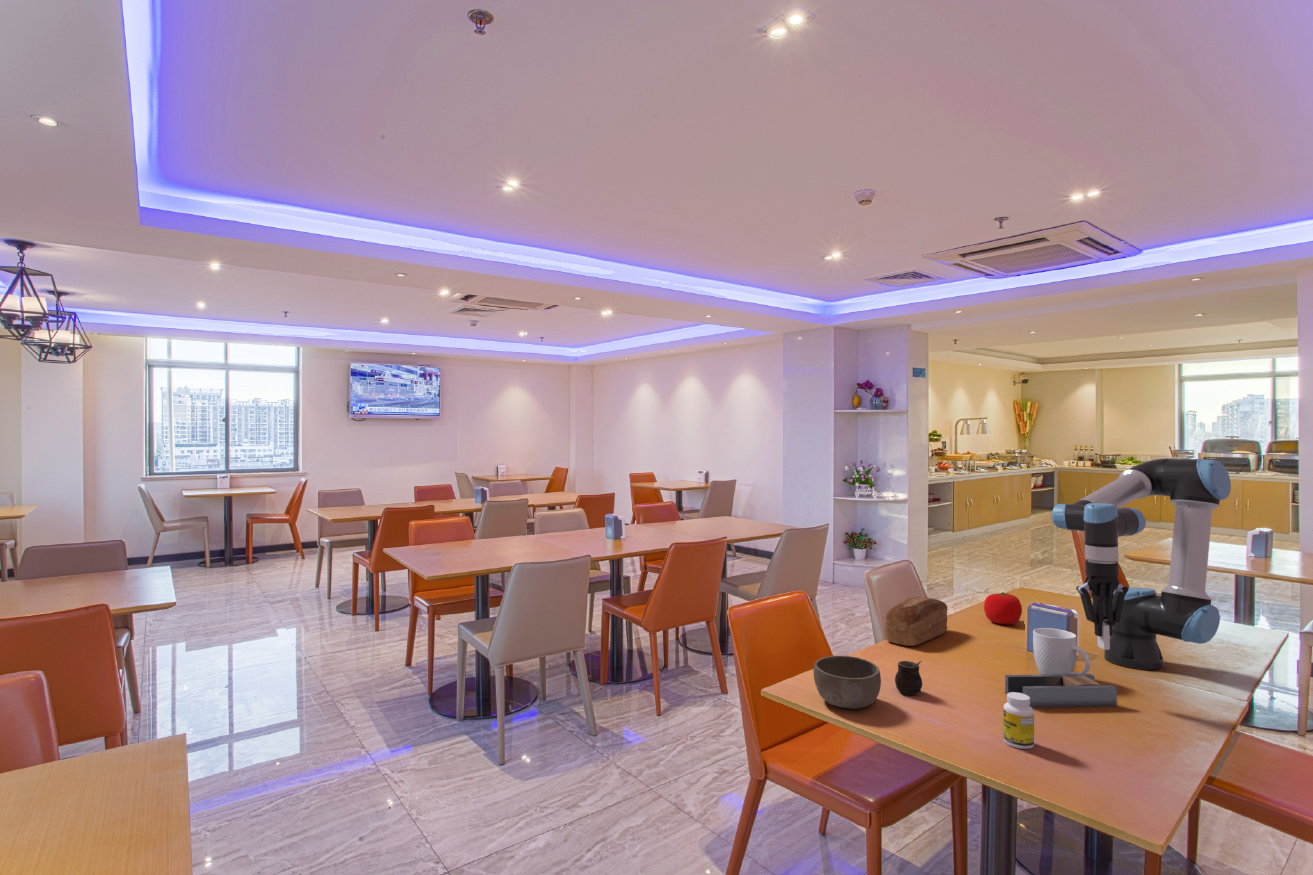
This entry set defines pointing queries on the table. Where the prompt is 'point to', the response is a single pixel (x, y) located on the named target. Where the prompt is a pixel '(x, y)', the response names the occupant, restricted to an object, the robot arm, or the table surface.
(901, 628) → the bread
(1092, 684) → the block
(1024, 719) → the pill bottle
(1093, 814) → the table surface
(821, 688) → the bowl
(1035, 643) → the mug
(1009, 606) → the tomato
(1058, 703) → the chute
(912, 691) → the mate gourd
